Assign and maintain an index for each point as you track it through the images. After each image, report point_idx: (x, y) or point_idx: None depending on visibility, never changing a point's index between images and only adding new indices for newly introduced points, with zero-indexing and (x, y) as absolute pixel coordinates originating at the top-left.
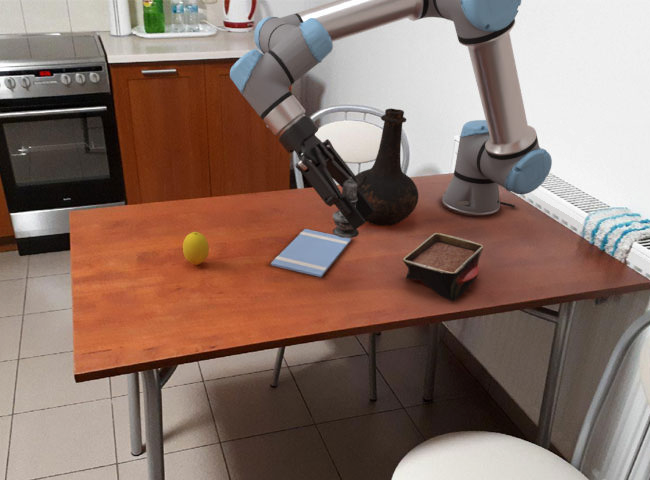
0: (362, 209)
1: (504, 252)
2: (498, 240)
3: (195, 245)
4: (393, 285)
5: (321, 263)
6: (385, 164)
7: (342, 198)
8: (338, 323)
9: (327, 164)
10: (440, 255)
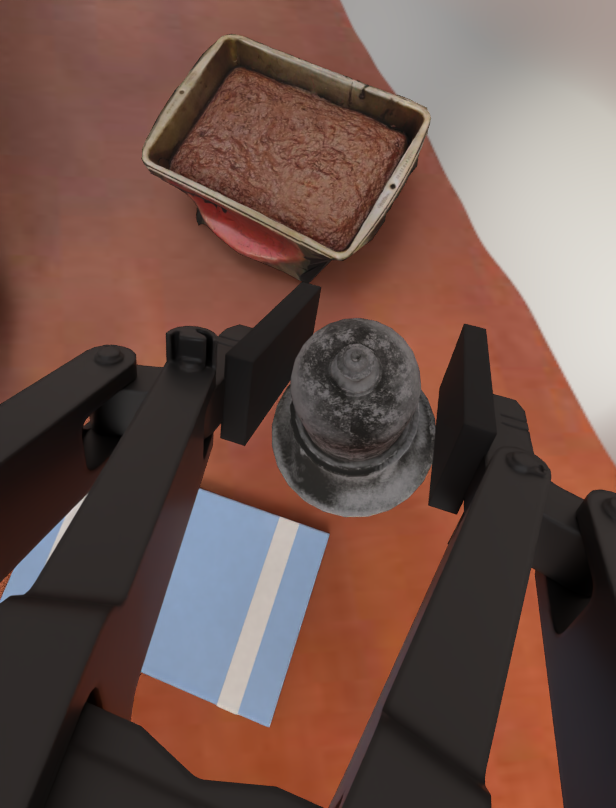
0: (299, 346)
1: (122, 55)
2: (57, 63)
3: None
4: (340, 319)
5: (250, 537)
6: None
7: (487, 450)
8: (592, 470)
9: (121, 663)
10: (273, 158)
